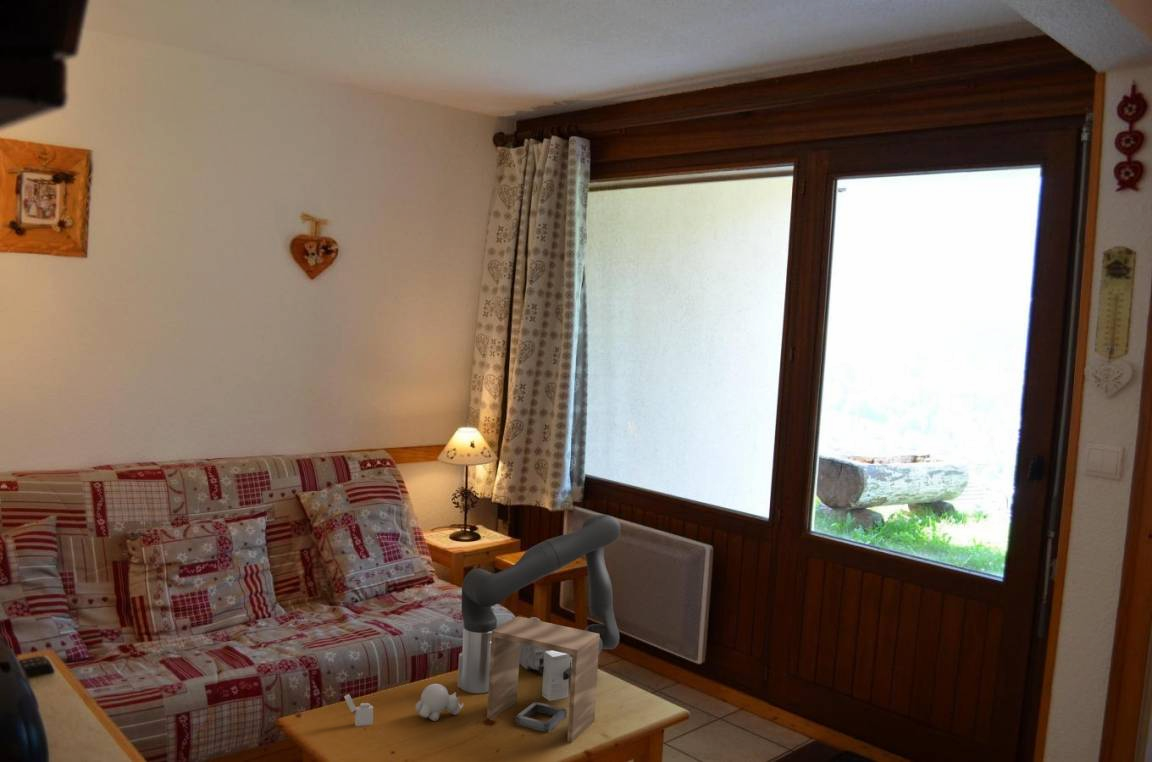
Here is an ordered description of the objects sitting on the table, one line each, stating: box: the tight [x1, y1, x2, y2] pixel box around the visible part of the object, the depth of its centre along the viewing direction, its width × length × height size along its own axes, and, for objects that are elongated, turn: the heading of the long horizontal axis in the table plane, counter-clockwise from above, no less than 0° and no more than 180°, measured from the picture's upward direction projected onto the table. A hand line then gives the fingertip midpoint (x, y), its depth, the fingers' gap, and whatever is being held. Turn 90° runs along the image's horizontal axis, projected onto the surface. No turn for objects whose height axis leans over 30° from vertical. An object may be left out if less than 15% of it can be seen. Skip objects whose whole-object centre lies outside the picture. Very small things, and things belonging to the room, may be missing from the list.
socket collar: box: [514, 701, 567, 734], centre depth 233 cm, size 9×11×2 cm
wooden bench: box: [486, 615, 600, 744], centre depth 232 cm, size 24×14×24 cm, turn 65°
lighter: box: [343, 693, 374, 727], centre depth 224 cm, size 7×2×8 cm, turn 113°
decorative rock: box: [519, 616, 551, 671], centre depth 268 cm, size 16×7×15 cm, turn 31°
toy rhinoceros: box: [414, 683, 464, 722], centre depth 232 cm, size 7×12×8 cm, turn 114°
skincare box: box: [541, 650, 570, 702], centre depth 239 cm, size 6×4×12 cm
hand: (552, 673), depth 237 cm, fingers closed on skincare box, 6 cm apart
